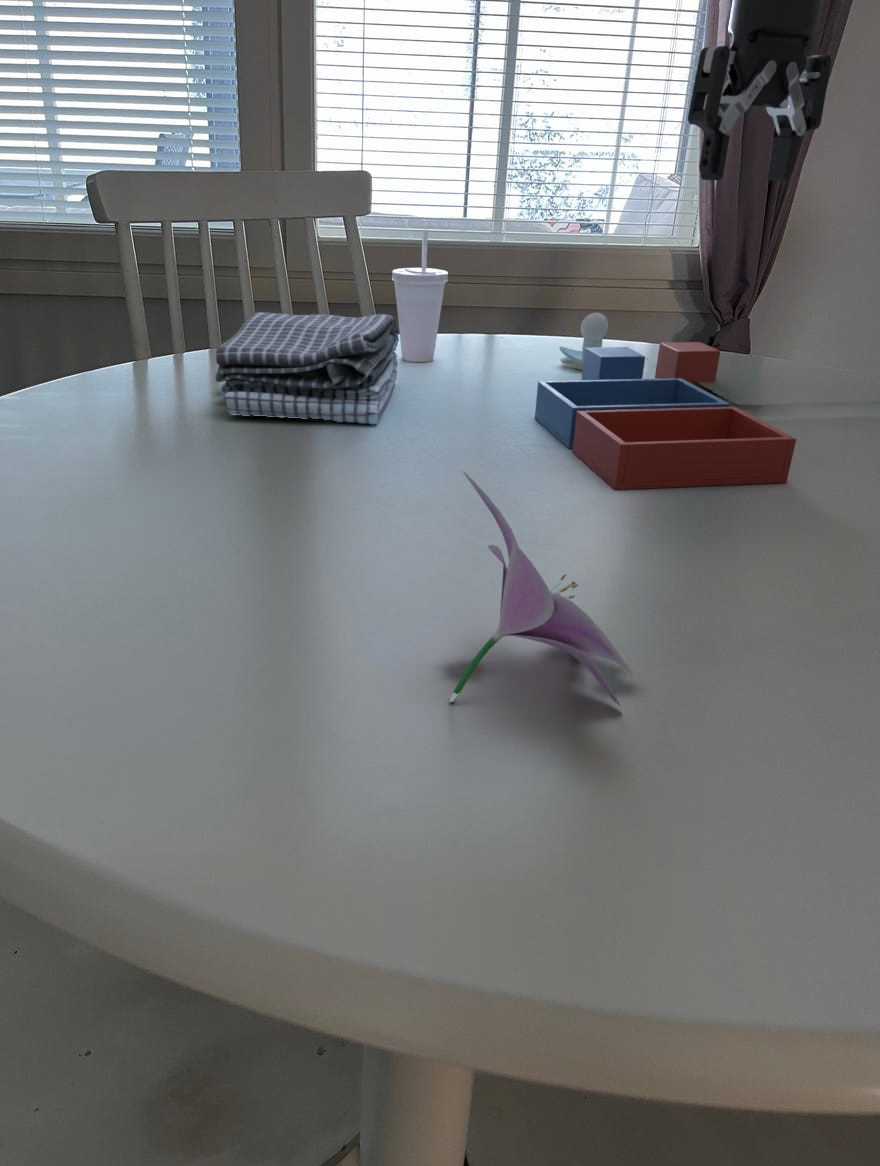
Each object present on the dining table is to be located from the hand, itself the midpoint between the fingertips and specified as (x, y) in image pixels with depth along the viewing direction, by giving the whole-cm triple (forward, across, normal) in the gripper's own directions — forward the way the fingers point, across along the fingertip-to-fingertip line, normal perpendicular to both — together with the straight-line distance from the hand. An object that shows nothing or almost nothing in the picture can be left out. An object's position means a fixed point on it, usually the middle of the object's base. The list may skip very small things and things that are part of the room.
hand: (744, 180), depth 89 cm
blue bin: (+20, -17, -8) cm, 28 cm away
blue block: (+20, -11, +2) cm, 23 cm away
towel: (+20, -39, +13) cm, 46 cm away
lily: (+20, -50, -42) cm, 69 cm away
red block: (+20, -2, +2) cm, 20 cm away
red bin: (+20, -20, -18) cm, 34 cm away
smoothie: (+20, -20, +26) cm, 39 cm away
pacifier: (+20, -4, +15) cm, 26 cm away
